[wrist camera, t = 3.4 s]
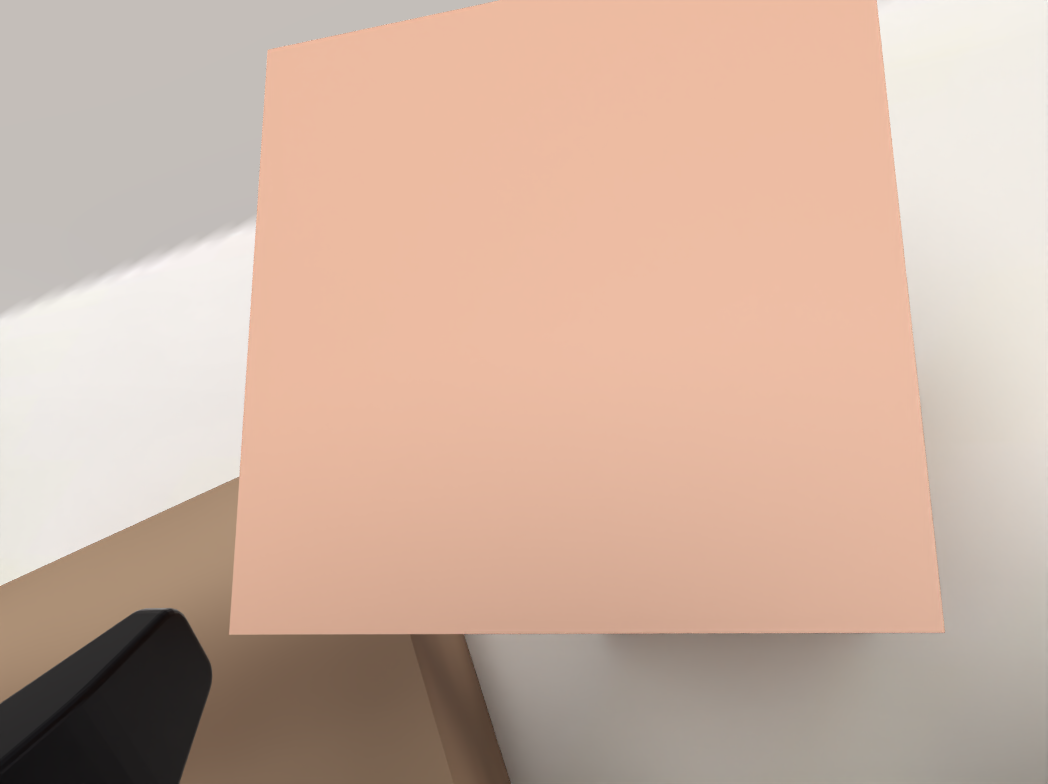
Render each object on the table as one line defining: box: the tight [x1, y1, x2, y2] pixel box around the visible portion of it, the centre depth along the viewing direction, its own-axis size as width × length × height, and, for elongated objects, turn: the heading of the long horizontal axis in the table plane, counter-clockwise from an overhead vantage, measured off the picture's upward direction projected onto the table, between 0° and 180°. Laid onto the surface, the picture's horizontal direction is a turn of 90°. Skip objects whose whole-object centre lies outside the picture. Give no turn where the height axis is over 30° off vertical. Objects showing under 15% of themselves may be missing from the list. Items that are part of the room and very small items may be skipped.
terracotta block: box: [229, 0, 945, 635], centre depth 13 cm, size 5×5×12 cm
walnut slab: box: [0, 477, 511, 784], centre depth 19 cm, size 9×9×3 cm
